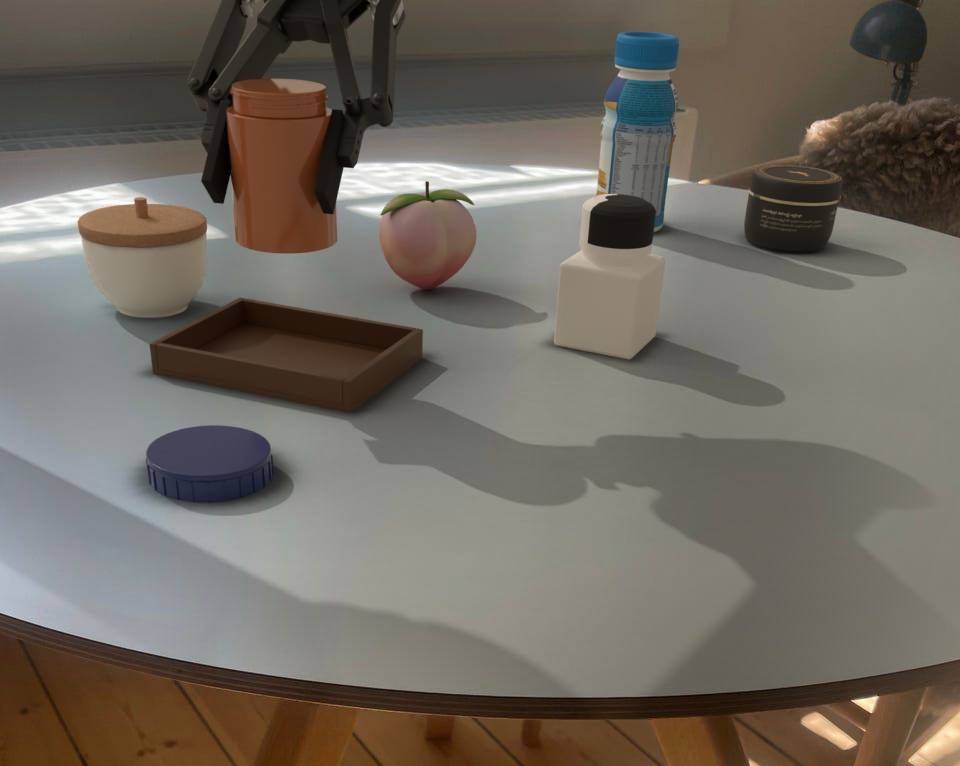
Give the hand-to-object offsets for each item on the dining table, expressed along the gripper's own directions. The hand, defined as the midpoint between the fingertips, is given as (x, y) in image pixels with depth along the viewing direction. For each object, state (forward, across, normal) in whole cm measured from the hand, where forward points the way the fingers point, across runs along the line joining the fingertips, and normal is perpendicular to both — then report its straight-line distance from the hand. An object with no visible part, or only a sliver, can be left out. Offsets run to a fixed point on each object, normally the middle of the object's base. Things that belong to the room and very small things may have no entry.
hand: (267, 197), depth 82 cm
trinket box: (0, +17, -20) cm, 26 cm away
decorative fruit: (-9, -5, -29) cm, 31 cm away
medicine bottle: (-3, -24, -22) cm, 33 cm away
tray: (+7, 0, -12) cm, 14 cm away
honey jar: (0, 0, -5) cm, 5 cm away
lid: (+21, -2, +3) cm, 21 cm away
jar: (-31, -40, -51) cm, 71 cm away
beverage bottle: (-32, -22, -52) cm, 64 cm away
